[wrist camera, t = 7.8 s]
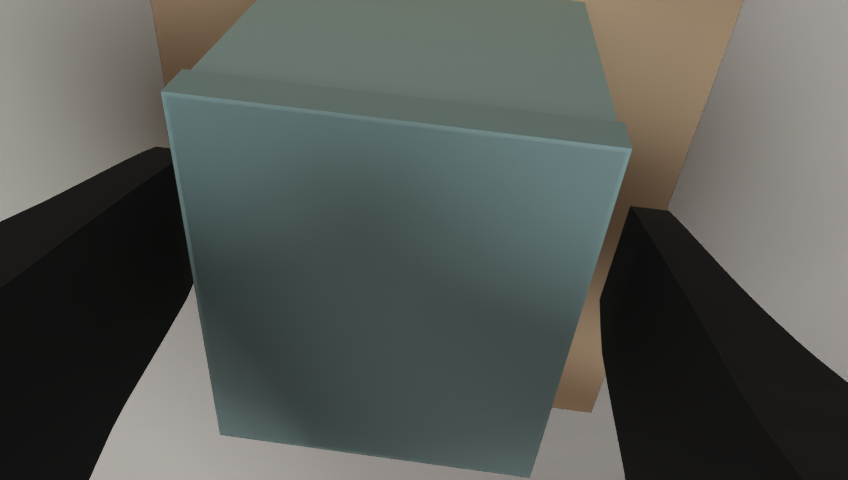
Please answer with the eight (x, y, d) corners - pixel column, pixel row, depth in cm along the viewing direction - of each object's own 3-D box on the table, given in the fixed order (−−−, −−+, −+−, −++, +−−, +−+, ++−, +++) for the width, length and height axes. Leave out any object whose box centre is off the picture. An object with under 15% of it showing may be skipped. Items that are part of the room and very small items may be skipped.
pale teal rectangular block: (524, 277, 15) (529, 477, 11) (297, 248, 15) (219, 434, 11) (588, -1, 11) (633, 149, 7) (284, -37, 11) (160, 91, 7)
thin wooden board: (587, 377, 18) (591, 412, 17) (227, 329, 18) (211, 361, 18) (809, -266, 10) (842, -265, 9) (132, -333, 10) (92, -341, 9)
